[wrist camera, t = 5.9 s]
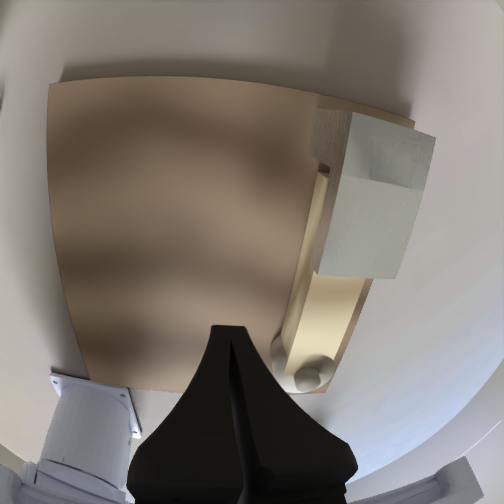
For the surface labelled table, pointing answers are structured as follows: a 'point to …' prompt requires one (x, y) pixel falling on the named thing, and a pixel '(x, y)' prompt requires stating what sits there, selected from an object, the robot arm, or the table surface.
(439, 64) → the table surface
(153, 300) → the base board
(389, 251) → the block
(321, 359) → the link
